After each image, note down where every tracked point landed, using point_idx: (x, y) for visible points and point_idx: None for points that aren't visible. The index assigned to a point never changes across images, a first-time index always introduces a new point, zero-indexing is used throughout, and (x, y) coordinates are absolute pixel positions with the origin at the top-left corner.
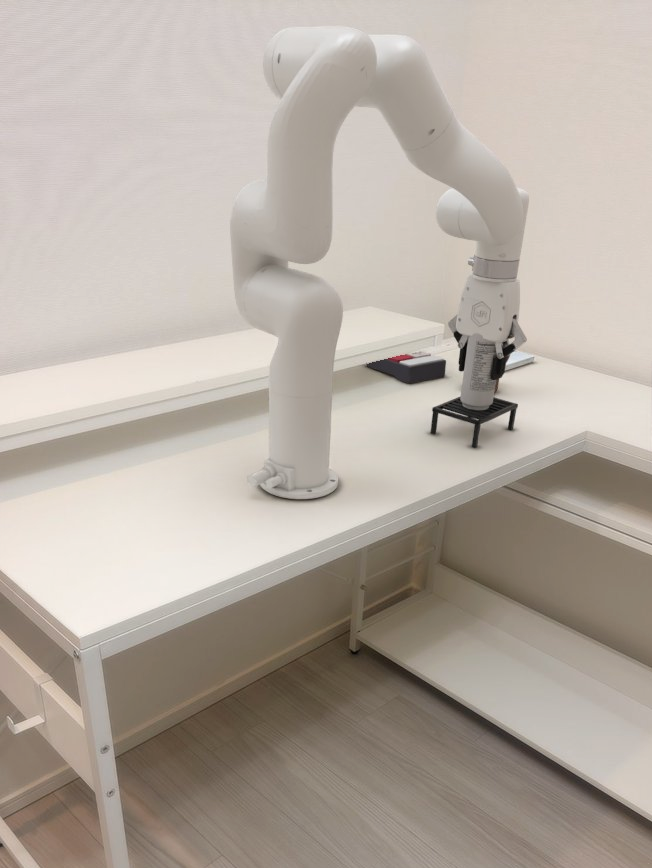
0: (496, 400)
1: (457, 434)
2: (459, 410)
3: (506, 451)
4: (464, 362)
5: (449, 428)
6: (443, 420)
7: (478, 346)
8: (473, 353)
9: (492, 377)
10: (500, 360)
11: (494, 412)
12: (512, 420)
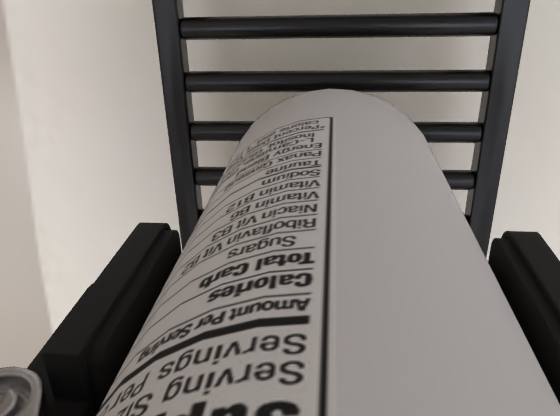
0: None
1: (365, 44)
2: (360, 26)
3: (80, 33)
4: (514, 300)
5: None
6: (516, 158)
7: (265, 376)
8: (358, 286)
9: (146, 227)
10: (43, 374)
11: (198, 169)
12: None
